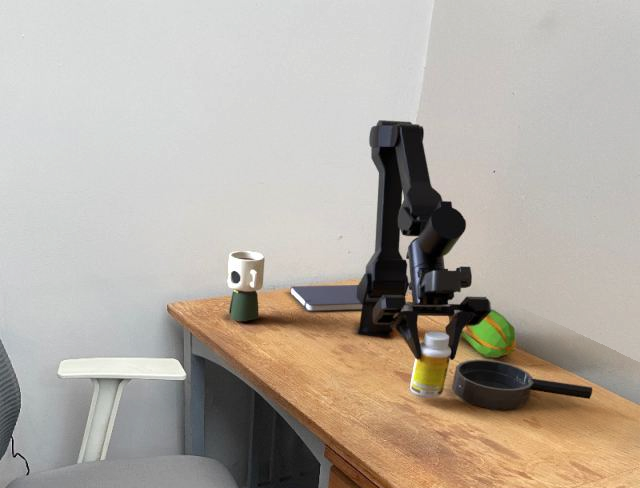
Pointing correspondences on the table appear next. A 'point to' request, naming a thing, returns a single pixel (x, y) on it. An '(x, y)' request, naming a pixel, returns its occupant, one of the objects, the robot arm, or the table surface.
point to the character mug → (245, 284)
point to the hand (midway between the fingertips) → (435, 358)
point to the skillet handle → (562, 388)
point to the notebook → (327, 297)
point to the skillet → (492, 384)
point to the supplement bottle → (431, 365)
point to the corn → (492, 336)
